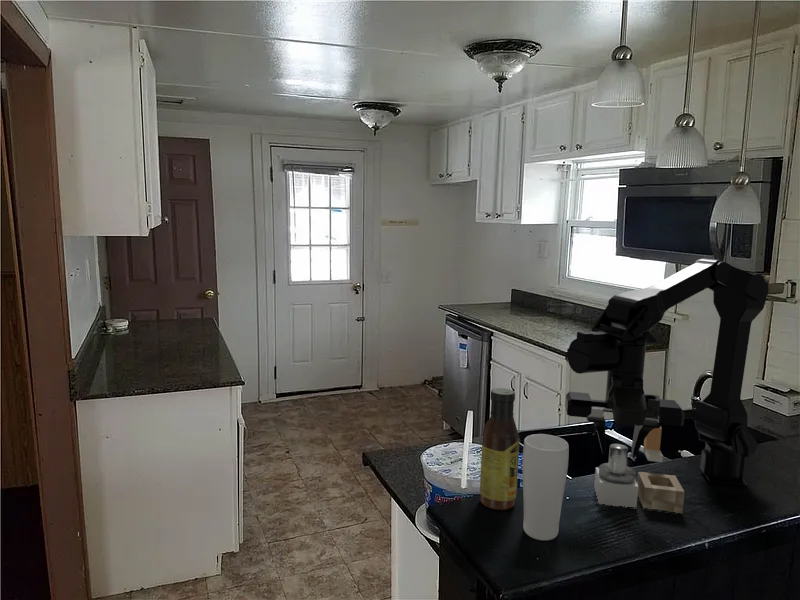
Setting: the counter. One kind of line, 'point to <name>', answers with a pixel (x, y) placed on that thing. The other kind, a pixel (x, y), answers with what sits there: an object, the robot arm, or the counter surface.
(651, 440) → the tan and grey l-block
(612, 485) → the grey block
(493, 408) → the sauce bottle
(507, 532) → the counter surface
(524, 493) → the drinking glass
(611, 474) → the grey flanged peg
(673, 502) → the birch socket block
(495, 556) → the counter surface
